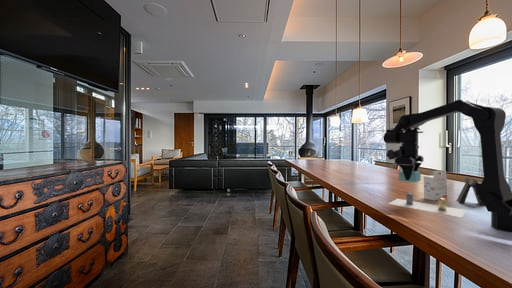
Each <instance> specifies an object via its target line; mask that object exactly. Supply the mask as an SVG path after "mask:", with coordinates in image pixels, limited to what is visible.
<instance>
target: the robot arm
mask: <svg viewBox="0 0 512 288" xmlns="http://www.w3.org/2000/svg"><path fill="white" fill-rule="evenodd" d="M458 113H460V114H463V115H464V116H467V117H469V118H471V119H472V123H473V125H474V128H475V129H476V131H477V132H478V134H479V137H480V138H479V139H480V148H481V160H482V172H483V179H482V181H480V182H479V181H477V183H476V188H477V193H476V195H479V199H480V201H482V202H483V203H484V204H485V206H484V207H485V208H486V210H487V212H489V213H490V214H491V215H490V219H491V220H490V224H491V225H490V226H491V227H492V228H494V229H496V230H497V231H502V232H507V233H512V189H511V186H510V185H509V183H508V181H507V180H506V178H505V172H504V159H503V149H502V138H501V137H502V135H501V134H502V131H503V129H504V128H505V127H504V126H505V124H506V116H507V115H506V112H505V110H503V109H502V108H500V107H494V106H484V105H480V104H477V103H474V102H471V101H469V100H464V99H456V100H455V101H452V102H449V103H446V104H443V105H439V106H437V107H434V108H431V109H428V110H424V111H422V112H417V113H409V114H403V115H401V116H400V117H399V119H398V122H397V123H396V125H395V126H394V128H393V129H391V128H390V129H386V131H385V133H384V135H383V136H382V137H383V138H382V139H383V142H384V144H387V145H388V144H389V145H390V144H392V145H394V144H401V145H400V146H399V147H398V148H399V149H396V150H394V149H389V150H387V153H386V157H387V158H388V160H389V161H390V160H394V165H397V166H399V167H400V168H401V171H402V170H403V173H404V176H405V179H406V180H409V179H410V177H411V174H412V172H413V171H419V169H420V167H421V165H422V163H424V157H423V156H422V155H419V153H418V152H419V151H418V150H419V149H420V145H418V144H419V143H418V138H419V137H418V134H423V133H424V131H423V130H422V129H420V126H423V125H424V124H427V122H430V121H434V120H436V119H441V118H443V117H447V116H450V115H453V114H458Z"/></svg>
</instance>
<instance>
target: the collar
mask: <svg viewBox="0 0 512 288" xmlns="http://www.w3.org/2000/svg"><path fill="white" fill-rule="evenodd" d="M421 177H422V176H421V171H420V170H418V171H413V172H412V174H411V177H410V179H409V180H406V179H405V176H404V173H403V170H402V169H401V170H398V181H401V182H408V183H409V182H410V183H418V182H420V181H421V180H422V179H421Z"/></svg>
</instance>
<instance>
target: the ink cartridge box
mask: <svg viewBox="0 0 512 288" xmlns="http://www.w3.org/2000/svg"><path fill="white" fill-rule="evenodd" d="M432 173H433V175H423V199H427V200H430V201H438V198H445V199H446V201H447V200H448V176H447V170H446V169H444V170H433V171H432Z"/></svg>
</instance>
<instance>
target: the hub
mask: <svg viewBox="0 0 512 288" xmlns="http://www.w3.org/2000/svg"><path fill="white" fill-rule="evenodd" d="M437 205H438V210H442V211H447V207H448V204H447V200H446V199H445V198H438V200H437Z"/></svg>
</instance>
